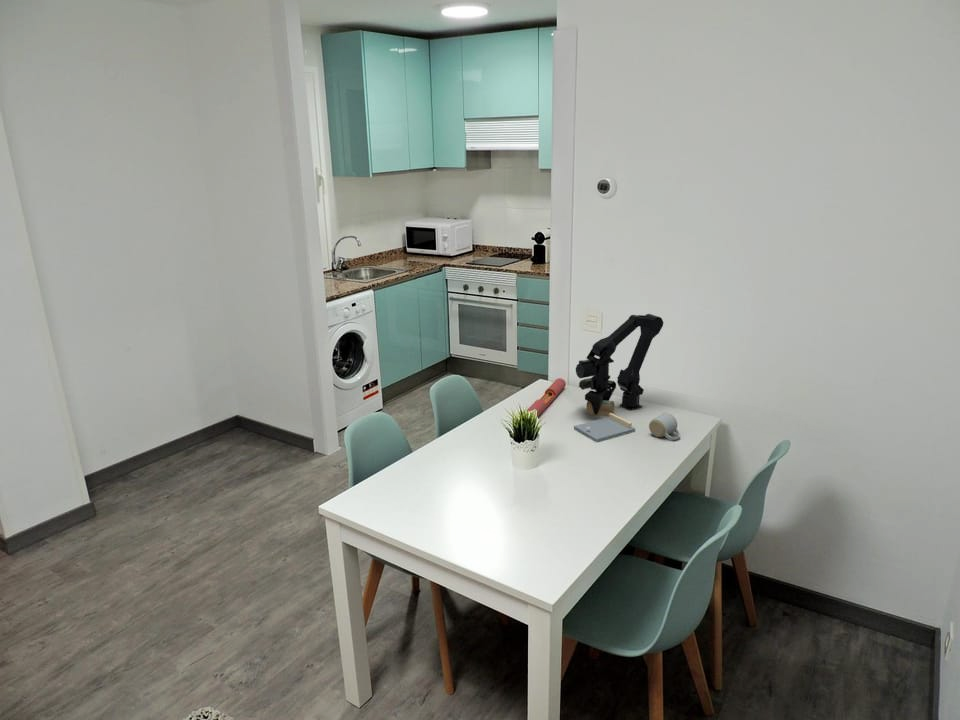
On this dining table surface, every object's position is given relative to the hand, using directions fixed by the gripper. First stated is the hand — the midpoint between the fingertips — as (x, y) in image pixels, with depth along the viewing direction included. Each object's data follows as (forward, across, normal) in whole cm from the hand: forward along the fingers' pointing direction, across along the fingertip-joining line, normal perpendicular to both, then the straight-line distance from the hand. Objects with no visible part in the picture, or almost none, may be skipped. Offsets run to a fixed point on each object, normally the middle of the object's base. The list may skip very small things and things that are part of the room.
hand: (600, 410), depth 265 cm
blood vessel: (+2, +2, -24) cm, 24 cm away
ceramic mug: (+2, +9, +29) cm, 31 cm away
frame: (+1, 0, 0) cm, 1 cm away
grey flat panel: (+1, +15, +8) cm, 17 cm away
